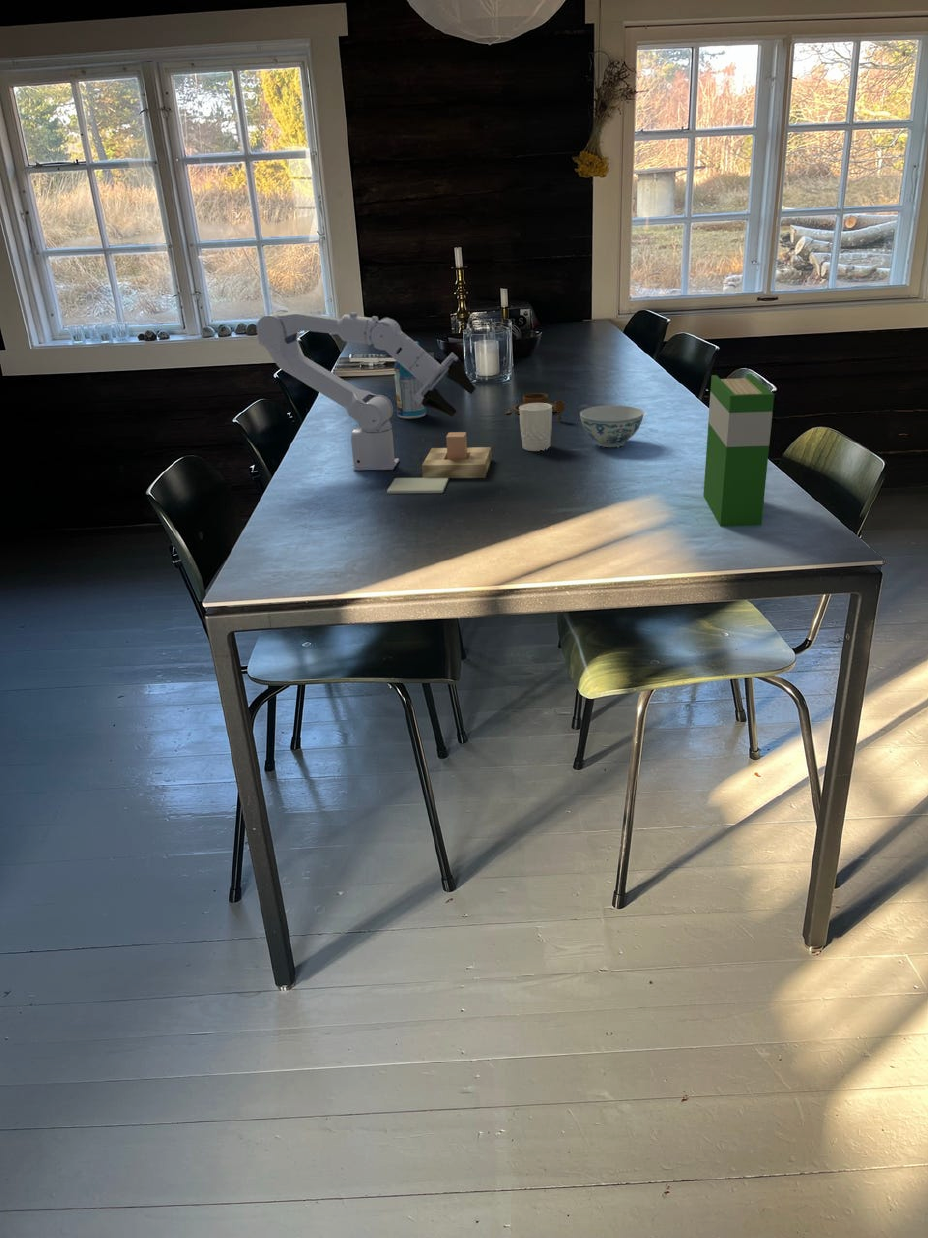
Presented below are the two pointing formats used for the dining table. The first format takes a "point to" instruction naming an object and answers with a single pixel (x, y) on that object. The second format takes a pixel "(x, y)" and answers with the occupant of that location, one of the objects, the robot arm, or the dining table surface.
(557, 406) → the place setting
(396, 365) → the beverage bottle
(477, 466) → the pocket block
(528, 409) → the white cup
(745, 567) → the dining table surface
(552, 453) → the dining table surface
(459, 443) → the terracotta block
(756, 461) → the hardback book
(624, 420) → the chinaware
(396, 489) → the mat
